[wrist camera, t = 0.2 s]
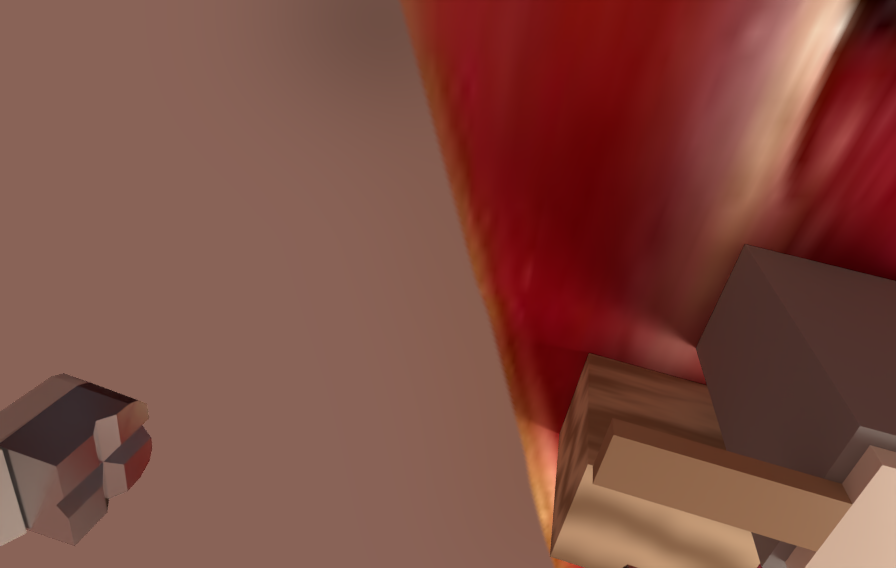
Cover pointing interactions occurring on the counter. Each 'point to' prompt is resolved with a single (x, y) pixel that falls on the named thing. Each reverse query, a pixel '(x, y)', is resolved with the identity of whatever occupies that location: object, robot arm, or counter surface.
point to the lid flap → (761, 495)
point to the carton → (801, 368)
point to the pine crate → (624, 516)
